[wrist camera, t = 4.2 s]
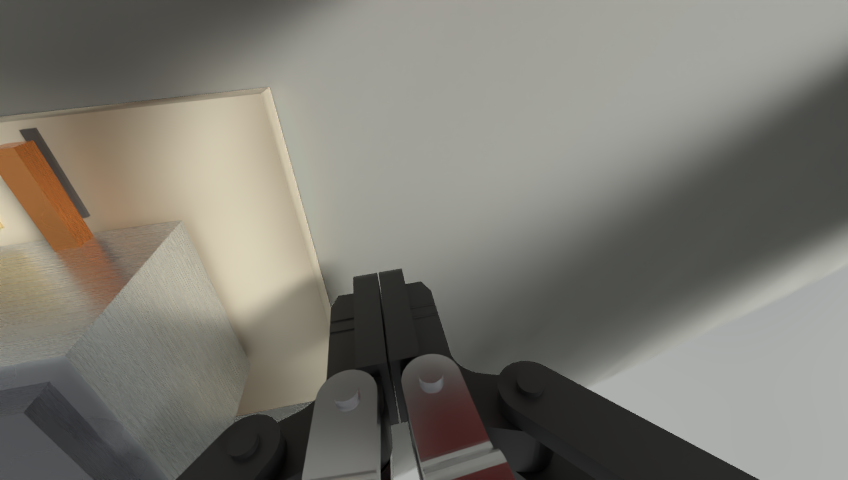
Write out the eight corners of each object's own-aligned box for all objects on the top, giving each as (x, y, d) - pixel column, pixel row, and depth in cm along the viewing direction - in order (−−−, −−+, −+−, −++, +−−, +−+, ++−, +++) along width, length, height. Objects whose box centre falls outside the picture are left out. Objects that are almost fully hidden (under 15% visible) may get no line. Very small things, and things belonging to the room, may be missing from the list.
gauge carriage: (137, 126, 9) (-103, 239, 4) (271, 408, 15) (234, 591, 10) (-94, 153, 8) (-669, 317, 4) (139, 435, 14) (32, 642, 9)
